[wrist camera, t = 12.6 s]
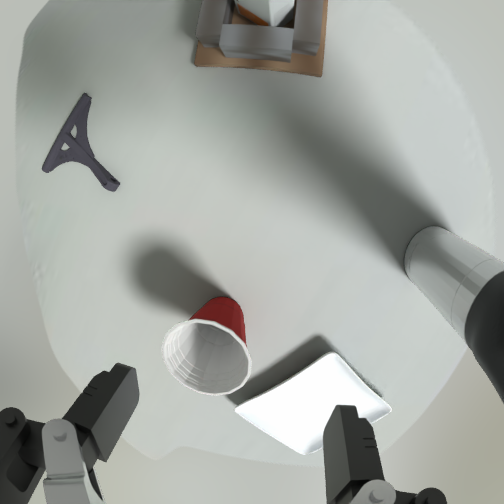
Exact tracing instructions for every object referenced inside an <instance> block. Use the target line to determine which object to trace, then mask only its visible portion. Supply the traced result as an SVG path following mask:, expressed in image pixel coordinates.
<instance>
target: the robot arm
mask: <svg viewBox="0 0 504 504" xmlns="http://www.w3.org/2000/svg"><path fill="white" fill-rule="evenodd" d="M404 266H405V270H406V273H407V275H408V277H409V278H410V280H411V281H412V282H413V283H414V284H415V285H416V286H417V287H418V288H419V290H420V291H421V292H422V293H423V294H424V295H425V296H426V297H427V298H428V300H429V301H430V302H431V303H432V304H433V305H434V306H435V307H436V309H437V310H438V311H439V312H440V313H441V314H442V315H443V316H444V318H445V319H446V320H447V321H448V322H449V323H450V325H451V326H452V327H453V328H454V329H455V330H456V332H457V333H458V334H459V335H460V336H461V338H462V339H463V340H464V341H465V343H466V344H467V345H468V346H469V348H470V349H471V350H472V351H473V354H474V356H475V358H476V360H477V362H478V363H479V365H480V366H481V367H482V369H483V370H484V371H485V373H486V375H487V376H488V378H489V379H490V381H491V382H492V384H493V386H494V387H495V389H496V391H497V392H498V394H499V396H500V398H501V399H502V401H503V403H504V262H502V261H500V260H499V259H497V258H495V257H494V256H492V255H490V254H489V253H487V252H485V251H484V250H482V249H480V248H478V247H477V246H475V245H473V244H471V243H469V242H468V241H466V240H464V239H462V238H460V237H459V236H457V235H455V234H453V233H451V232H449V231H447V230H445V229H443V228H441V227H437V226H431V227H427V228H425V229H423V230H421V231H420V232H418V233H417V234H416V235H415V236H414V237H413V239H412V240H411V241H410V243H409V245H408V247H407V250H406V253H405V258H404ZM138 401H139V387H138V381H137V374H136V369H135V368H133V367H130V366H127V365H124V364H121V363H116V364H115V365H114V367H113V368H112V369H111V371H110V372H107V371H103V372H101V373H99V374H97V375H96V376H94V377H93V379H92V380H91V381H90V383H89V384H88V386H86V388H85V389H84V390H83V393H81V394H80V396H79V397H78V398H77V400H76V401H75V402H74V404H73V405H72V406H71V408H70V409H69V410H68V412H67V413H66V414H65V416H64V417H63V418H62V419H53V420H50V421H48V422H47V423H41V422H36V421H32V420H28V419H26V418H25V416H24V414H23V413H22V412H21V411H20V410H19V409H17V408H13V407H10V408H6V409H3V410H2V411H1V412H0V504H28V502H29V500H30V498H31V496H32V494H33V492H34V490H35V488H36V486H37V484H38V483H39V481H40V479H41V477H42V475H43V473H44V471H45V470H46V472H47V478H46V479H44V480H43V487H44V492H45V496H46V502H47V504H106V502H105V499H104V496H103V493H102V490H101V487H100V484H99V480H98V477H97V473H96V470H95V467H94V464H95V462H96V460H97V459H99V460H102V461H104V462H107V460H108V458H109V456H110V454H111V452H112V450H113V449H114V447H115V445H116V443H117V441H118V439H119V437H120V436H121V434H122V432H123V430H124V428H125V426H126V425H127V423H128V421H129V419H130V417H131V415H132V414H133V412H134V410H135V408H136V406H137V404H138ZM323 450H324V464H325V478H326V497H327V504H447V501H446V497H445V495H444V494H443V493H442V492H441V491H440V490H438V489H436V488H426V489H424V490H422V491H421V492H419V493H418V494H414V493H407V492H400V491H397V490H395V489H394V487H393V486H392V485H391V484H390V483H388V482H386V481H385V479H384V475H383V470H382V466H381V461H380V457H379V452H378V448H377V444H376V440H375V435H374V431H373V427H372V426H371V424H370V423H369V422H368V420H367V419H366V418H359V416H358V412H357V408H356V406H355V405H336V406H335V408H334V410H333V412H332V414H331V416H330V418H329V420H328V422H327V424H326V426H325V428H324V432H323Z"/></svg>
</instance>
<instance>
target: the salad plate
mask: <svg viewBox="0 0 504 504" xmlns="http://www.w3.org/2000/svg"><path fill="white" fill-rule="evenodd" d="M336 405H355V406H356V408H357V412H358V416H359V418H366V419H367V420H368V422H369V423H370V424H372V423H374V422H375V421H377V420H379V419H381V418H382V417H384V416H386V415H387V414H389V413H390V412H391V411H392V407H391V406H390V405H389V404H388V403H387V402H386V401H384V400H383V399H382V398H381V397H380V396H378V395H377V394H376V393H375V392H374V391H373V390H371V389H370V388H369V387H368V386H367V385H366V384H365V383H364V382H363V381H362V380H361V379H360V377H359V376H358V375H357V374H356V373H355V372H354V371H353V370H352V369H351V368H350V366H349V365H348V364H347V363H346V362H345V361H344V360H343V359H342V358H341V357H340V356H339V355H338V354H337V353H335V352H328V353H326V354H324V355H323V356H321V357H320V358H318V359H317V360H316V361H314V362H313V363H311V364H310V365H309V366H307V367H306V368H304V369H303V370H301V371H300V372H298V373H297V374H295V375H293V376H292V377H290V378H288V379H287V380H285V381H283V382H282V383H280V384H278V385H276V386H275V387H273V388H271V389H269V390H267V391H265V392H263V393H261V394H259V395H257V396H255V397H253V398H251V399H249V400H246V401H244V402H242V403H241V404H239V405H238V406H236V407H235V409H234V411H235V412H236V413H237V414H238V415H240V416H241V417H242V418H244V419H245V420H247V421H248V422H250V423H251V424H253V425H254V426H256V427H257V428H259V429H260V430H262V431H264V432H265V433H267V434H268V435H270V436H272V437H273V438H275V439H276V440H278V441H280V442H281V443H283V444H285V445H286V446H288V447H290V448H291V449H293V450H295V451H297V452H298V453H300V454H303V455H307V454H310V453H313V452H315V451H317V450H320V449H322V448H323V432H324V428H325V426H326V424H327V422H328V420H329V418H330V416H331V414H332V412H333V410H334V408H335V406H336Z"/></svg>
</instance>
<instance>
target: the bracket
mask: <svg viewBox="0 0 504 504" xmlns="http://www.w3.org/2000/svg"><path fill="white" fill-rule="evenodd" d="M90 100H91V97H88V96H87V93H84V94H83V95H82V97H81V98H80V100H79V101H78V103H77V105H76V106H75V108H74V109H73V111H72V113H71V114H70V116H69V118H68V119H67V121H66V123H65V125H64V126H63V128H62V130H61V132H60V133H59V135H58V137H57V139H56V141H55V143H54V145H53V146H52V148H51V150H50V152H49V154H48V156H47V158H46V160H45V162H44V165H43V167H42V170H43V171H44V172H46V173H49V171H52V170H53V169H54V168H56V167H57V166H59V165H60V164H62V163H65V162H69V161H74V162H79V163H82V164H84V165H86V166H88V167H89V168H90V169H91V170H92V172H93V173H94V175H95V176H96V177H97V179H98V180H99V181H100V183H101V184H102V186H103V187H104V188H105V189H107V190H109V191H113V192H114V191H116V189H117V188H118V186H119V185H120V183H119V182H118V181H117V180H116V179H115V178H114V177H113V176H112V175H111V174H110V173H109V172H108V171H107V170H106V169H105V168H104V167H103V166H102V165H101V164H100V163H99V162H98V161H97V160H96V159H95V158H94V154H93V152H92V150H91V148H90V145H89V142H88V138H87V117H88V112H89V108H90V105H91V101H90ZM74 125H76V127H77V135H76V138H74V137H73V136H72V135H71V133H70V132H71V130H72V128H73V127H74ZM64 142H65V143H66V144H67V145H68V146H69V147H70V148H69V149H68V150H67V151H63V150H61V148H62V146H63V144H64Z"/></svg>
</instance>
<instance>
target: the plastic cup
mask: <svg viewBox="0 0 504 504" xmlns="http://www.w3.org/2000/svg"><path fill="white" fill-rule="evenodd" d="M161 347H162V357H163V361H164V363H165V365H166V367H167V368H168V370H169V372H170V374H171V375H172V376H173V377H174V378H176V379H177V380H178V381H179V382H180V383H181V384H182V385H183V386H185V387H187V388H189V389H191V390H193V391H195V392H197V393H202V394H207V395H213V396H216V395H224V394H230V393H232V392H234V391H236V390H238V389H239V388H241V387H243V386H244V384H245V383H246V381H247V380H248V378H249V377H250V375H251V364H252V359H251V356H250V354H249V352H248V349H247V345H246V336H245V324H244V317H243V312H242V310H241V308H240V306H239V305H238V304H237V303H236V302H235V301H234V300H232V299H230V298H228V297H217V298H213V299H211V300H210V301H209V302H207V303H206V304H205V305H204V306H203V307H202V308H201V309H200V310H199V311H197V312H196V313H195V314H194V315H193V316H192V317H191V318H190V319H189V320H188V321H183V322H179V323H177V324H176V325H175V326H174V327H172V328H171V329H170V330H169V331H168V332H166V335H165V337H164V340H163V342H162V345H161Z"/></svg>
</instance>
